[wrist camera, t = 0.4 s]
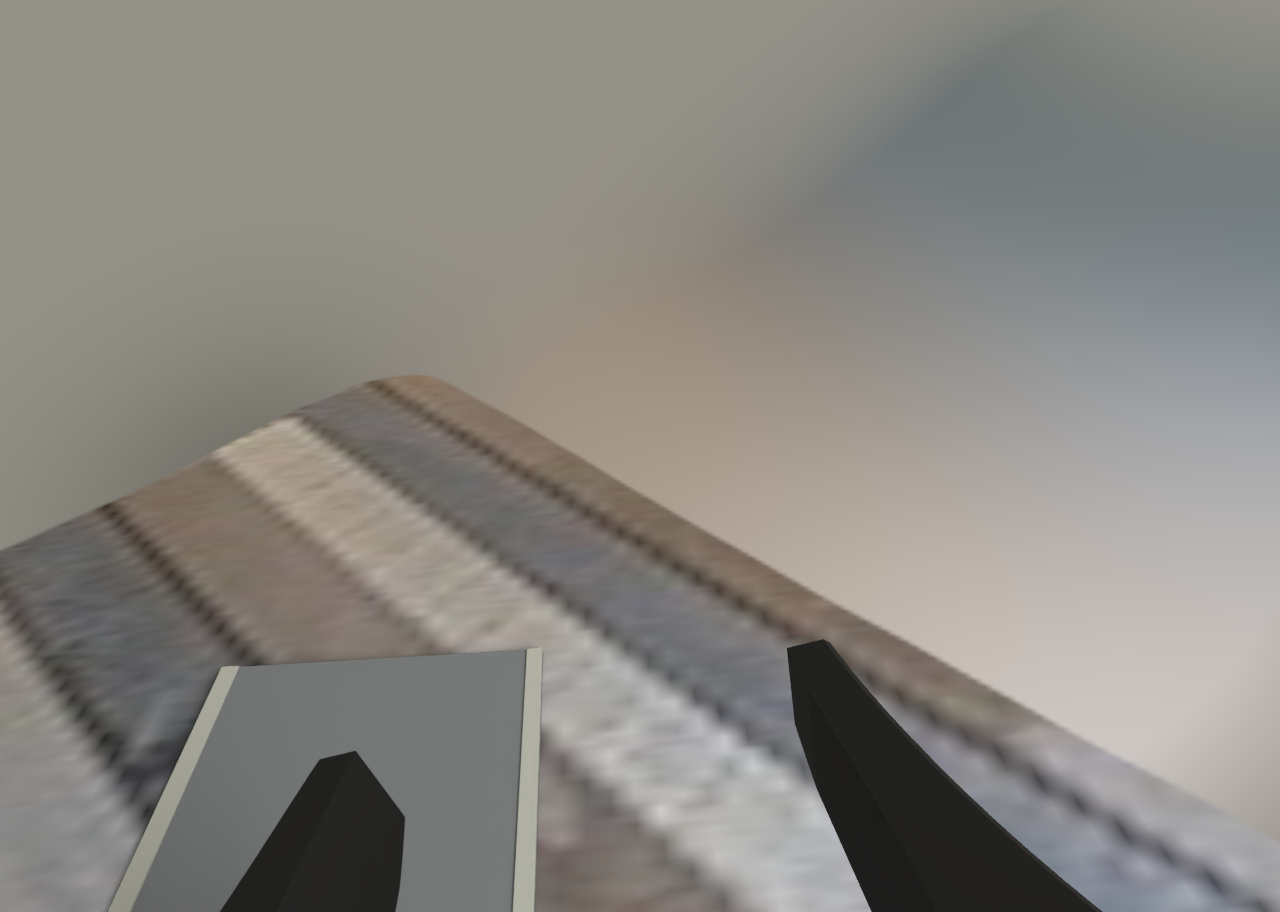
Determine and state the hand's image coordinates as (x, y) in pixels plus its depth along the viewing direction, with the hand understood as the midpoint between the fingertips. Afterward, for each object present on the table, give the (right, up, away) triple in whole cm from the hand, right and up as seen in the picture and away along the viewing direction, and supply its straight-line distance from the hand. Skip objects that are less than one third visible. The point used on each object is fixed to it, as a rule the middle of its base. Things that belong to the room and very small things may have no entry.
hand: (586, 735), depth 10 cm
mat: (-12, -10, +17) cm, 23 cm away
